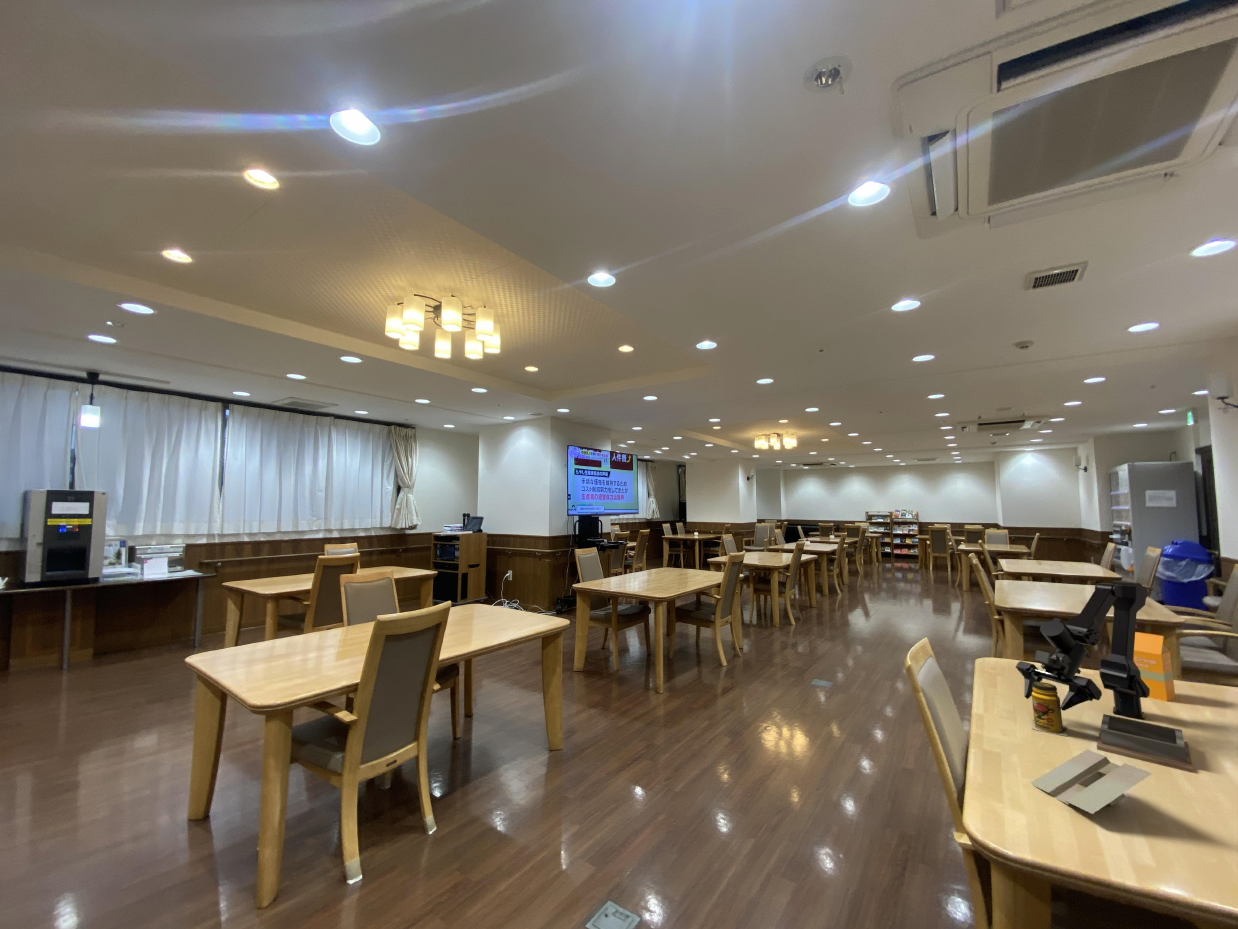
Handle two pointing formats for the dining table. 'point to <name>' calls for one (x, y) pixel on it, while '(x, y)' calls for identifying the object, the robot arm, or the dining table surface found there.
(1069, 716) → the dining table surface
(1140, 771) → the grey slotted panel
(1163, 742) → the well caddy
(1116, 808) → the dining table surface
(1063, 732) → the condiment
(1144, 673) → the orange juice
